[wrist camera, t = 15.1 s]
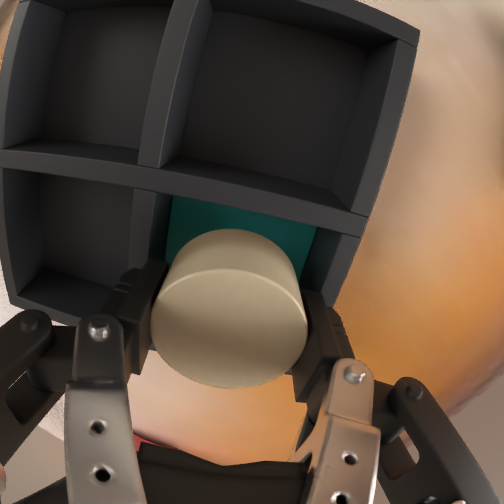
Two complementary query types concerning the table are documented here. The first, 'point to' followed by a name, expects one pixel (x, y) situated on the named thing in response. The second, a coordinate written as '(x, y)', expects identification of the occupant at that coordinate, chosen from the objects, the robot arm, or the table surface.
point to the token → (230, 311)
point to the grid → (190, 136)
